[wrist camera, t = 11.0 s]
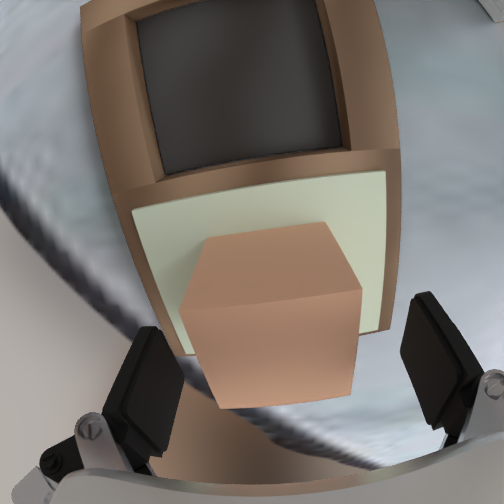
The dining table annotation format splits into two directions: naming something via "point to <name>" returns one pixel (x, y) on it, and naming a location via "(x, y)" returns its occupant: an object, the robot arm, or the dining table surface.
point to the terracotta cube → (274, 316)
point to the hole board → (246, 134)
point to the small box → (494, 9)
